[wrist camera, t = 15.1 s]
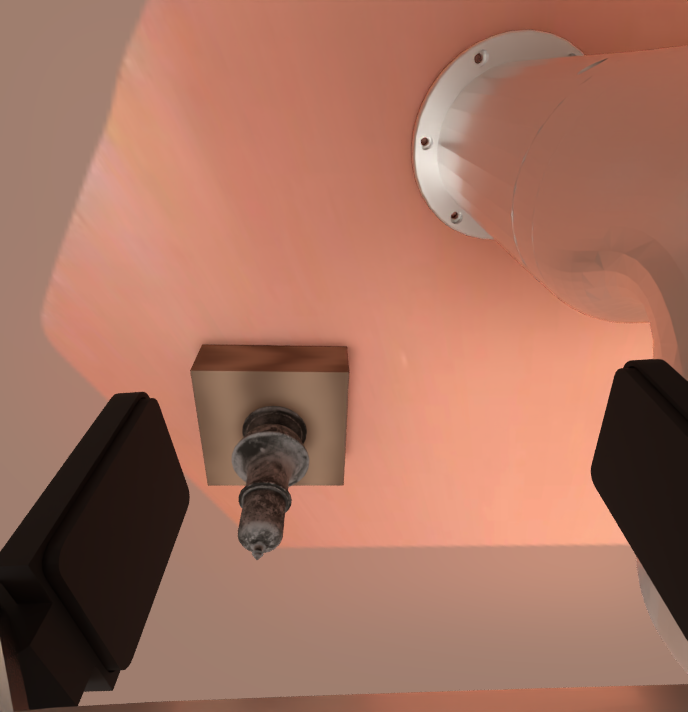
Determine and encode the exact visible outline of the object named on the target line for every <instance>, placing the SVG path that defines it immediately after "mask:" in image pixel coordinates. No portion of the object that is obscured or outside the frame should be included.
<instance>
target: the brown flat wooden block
mask: <svg viewBox="0 0 688 712" xmlns="http://www.w3.org/2000/svg"><path fill="white" fill-rule="evenodd" d="M190 371H191V378H192V385H193V391H194V398H195V404H196V411H197V417H198V424H199V430H200V437H201V443H202V450H203V456H204V463H205V470H206V476H207V483H208V485H246V482H245V481H244V480H242V479H241V478H240V477H239V476H238V475H237V473H236V472H235V471H234V468H233V465H232V453H233V450H234V448H235V446H236V445H237V444H238V443H239V441H240V440H242V439H243V434H242V429H243V424H244V421H245V419H246V418H247V417H248V416H249V414H251V413H252V412H254V411H255V410H257V409H259V408H262V407H267V406H281V407H284V408H288V409H290V410H292V411H294V412H295V413H297V414H298V415H299V416H300V417H301V418H302V419H303V421H304V423H305V424H306V429H307V436H306V440H305V442H304V444H303V445H304V447H305V449H306V450H307V452H308V456H309V468H308V470H307V472H306V474H305V476H304V477H303V478H302V479H301V480H300V481H299V482H297V483H295V484H294V485H344V466H345V446H346V425H347V404H348V384H349V366H348V353H347V347H322V346H251V345H202V346H201V349H200V351H199V353H198V355H197V357H196V359H195V362H194V364H193V366H192V368H191V370H190Z"/></svg>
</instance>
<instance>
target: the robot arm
mask: <svg viewBox="0 0 688 712" xmlns="http://www.w3.org/2000/svg"><path fill="white" fill-rule="evenodd" d="M476 54H480V56H481V60H480V62H479V63H476V62H475V61H474V58H475V55H476ZM424 137H426V138H427V144H426V145H421V139H422V138H424ZM412 166H413V171H414V176H415V180H416V183H417V186H418V188H419V190H420V193H421V195H422V197H423V199H424V200H425V202H426V203H427V205H428V206H429V208H430V209H431V210H432V212H433V213H434V214H435V215H436V216H437V217H438V218H439V219H440V220H441V221H442V222H443V223H445V224H446V225H447V226H448V227H450V228H451V229H453V230H455V231H458V232H460V233H462V234H464V235H466V236H470V237H475V238H479V239H493V240H496V241H497V242H498V243H499V244H500V245H501V246H502V247H503V248H504V249H505V250H506V251H507V252H508V253H509V254H510V255H511V256H512V257H513V258H514V259H516V260H517V261H518V262H519V263H520V264H521V265H522V266H523V267H524V268H525V269H526V270H527V271H528V272H529V273H530V274H531V275H532V276H533V277H534V278H535V279H536V280H538V281H539V282H541V283H542V284H543V285H544V286H545V287H546V288H547V289H548V290H549V291H550V292H551V293H552V294H554V295H555V296H556V297H557V298H559V299H560V300H561V301H563V302H564V303H565V304H567V305H568V306H570V307H571V308H573V309H575V310H577V311H579V312H581V313H583V314H585V315H588V316H590V317H593V318H597V319H600V320H605V321H609V322H616V323H647V322H650V326H651V332H652V337H653V359H648V360H632V361H629V362H627V363H626V364H625V365H624V367H623V368H621V369H618V370H617V371H616V373H615V376H614V380H613V384H612V387H611V391H610V395H609V399H608V403H607V407H606V411H605V415H604V419H603V422H602V426H601V430H600V434H599V438H598V442H597V446H596V450H595V454H594V458H593V461H592V465H591V477H592V481H593V484H594V486H595V487H596V489H597V491H598V492H599V494H600V496H601V497H602V499H603V501H604V502H605V504H606V506H607V507H608V509H609V511H610V513H611V514H612V516H613V518H614V519H615V521H616V523H617V524H618V526H619V528H620V529H621V531H622V533H623V534H624V536H625V538H626V539H627V541H628V543H629V544H630V546H631V548H632V549H633V551H634V553H635V554H636V557H637V570H638V577H639V583H640V588H641V592H642V595H643V598H644V602H645V605H646V608H647V610H648V613H649V615H650V617H651V620H652V622H653V624H654V626H655V628H656V630H657V632H658V633H659V635H660V637H661V639H662V640H663V642H664V643H665V645H666V646H667V648H668V649H669V651H670V652H671V654H672V655H673V657H674V658H675V659H676V661H677V662H678V663H679V664H680V666H681V667H682V668H683V669H684V671H685V672H686V673H687V674H688V46H676V47H667V48H658V49H653V50H642V51H631V52H619V53H607V54H595V55H584V53H583V52H582V51H581V50H579V49H578V48H577V47H576V46H574V45H573V44H572V43H571V42H569V41H568V40H566V39H564V38H561V37H559V36H557V35H555V34H552V33H549V32H543V31H537V30H532V29H531V30H517V31H509V32H504V33H500V34H496V35H494V36H492V37H489V38H487V39H484V40H482V41H479V42H477V43H476V44H474V45H473V46H471V47H470V48H468V49H467V50H465V51H463V52H462V53H460V54H459V55H458V56H457V57H456V58H455V59H454V60H453V61H452V62H451V63H450V64H449V65H448V66H446V67H445V68H444V69H443V71H442V72H441V73H440V75H439V76H438V77H437V79H436V80H435V81H434V83H433V84H432V85H431V87H430V89H429V91H428V93H427V95H426V97H425V99H424V100H423V102H422V104H421V107H420V110H419V113H418V116H417V119H416V122H415V125H414V132H413V139H412ZM454 212H457V216H456V217H455V218H451V215H452V214H453V213H454ZM188 505H189V489H188V486H187V483H186V480H185V477H184V474H183V472H182V469H181V466H180V463H179V460H178V457H177V455H176V452H175V449H174V446H173V443H172V440H171V437H170V435H169V432H168V429H167V426H166V423H165V420H164V418H163V415H162V412H161V409H160V406H159V404H158V402H157V400H156V399H154V398H150V397H149V396H148V394H147V393H145V392H133V393H118V394H115V395H114V396H113V397H112V398H111V399H110V400H109V402H108V403H107V405H106V406H105V407H104V409H103V411H102V412H101V413H100V414H99V416H98V417H97V418H96V420H95V421H94V423H93V424H92V425H91V427H90V428H89V430H88V431H87V432H86V434H85V435H84V436H83V438H82V439H81V441H80V442H79V443H78V445H77V446H76V448H75V449H74V450H73V452H72V453H71V454H70V456H69V457H68V459H67V460H66V461H65V463H64V464H63V466H62V467H61V468H60V470H59V471H58V473H57V474H56V476H55V477H54V478H53V479H52V481H51V482H50V484H49V485H48V486H47V488H46V489H45V491H44V492H43V493H42V495H41V496H40V498H39V499H38V500H37V502H36V503H35V505H34V506H33V507H32V509H31V510H30V511H29V513H28V514H27V515H26V517H25V518H24V520H23V521H22V523H21V524H20V525H19V527H18V528H17V529H16V531H15V532H14V534H13V535H12V536H11V538H10V539H9V540H8V542H7V543H6V545H5V546H4V547H3V549H2V550H1V551H0V712H688V684H680V685H646V686H645V685H643V686H611V687H609V686H608V687H571V688H537V689H504V690H476V691H475V690H473V691H442V692H411V693H381V694H352V695H323V696H298V697H297V696H296V697H271V698H244V699H219V700H192V701H169V702H168V701H167V702H145V703H128V704H110V705H93V706H78V704H79V702H80V699H81V697H82V694H83V692H84V691H85V692H86V691H112V690H113V689H114V686H115V683H116V681H117V678H118V675H119V673H120V670H125V669H126V668H127V667H128V666H129V665H130V663H131V661H132V659H133V656H134V653H135V651H136V648H137V645H138V642H139V640H140V637H141V634H142V632H143V629H144V626H145V623H146V620H147V618H148V615H149V612H150V610H151V607H152V604H153V601H154V598H155V596H156V593H157V590H158V588H159V585H160V582H161V579H162V577H163V574H164V571H165V568H166V566H167V563H168V560H169V558H170V554H171V552H172V549H173V547H174V544H175V541H176V538H177V536H178V533H179V530H180V527H181V525H182V522H183V519H184V516H185V514H186V511H187V508H188Z"/></svg>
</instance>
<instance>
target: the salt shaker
mask: <svg viewBox="0 0 688 712" xmlns="http://www.w3.org/2000/svg"><path fill="white" fill-rule="evenodd" d="M242 434H243V439H242V440H240V441H239V443H238V444H237V445H236V446H235V448H234V450H233V453H232V465H233V468H234V471H235V472H236V473H237V475H238V476H239V477H240V478H241V479H242V480H244V481H245V482H246V486H245V487H244V488H243V489H242V490H241V492H240V494H239V504H240V506H241V508H242V513H241V518H240V523H239V528H238V539H239V541H240V543H241V544H242V546H243V547H244V548H246V549H247V550H249V551H251V552H252V555H253V556H254V558H255V559H256V560H258V559H259V558H261V557H262V556H263V553H266V552H270V551H272V550H274V549H275V548H276V547H277V546H278V545H279V544H280V542H281V540H282V538H283V528H284V517H285V513H286V512H287V511H288V510H289V508H290V506H291V501H292V499H291V495H290V493H289V492H288V487H289V486H292V485H294V484H295V483H297V482H299V481H300V480H301V479H302V478H303V477H304V476H305V474H306V472H307V470H308V468H309V456H308V452H307V450H306V449H305V447H304V445H303V444H304V442H305V440H306V436H307V429H306V424H305V423H304V421H303V419H302V418H301V417H300V416H299V415H298V414H297V413H295V412H294V411H292V410H290V409H288V408H284V407H281V406H267V407H262V408H259V409H257V410H255V411H254V412H252V413H251V414H249V416H248V417H247V418H246V419H245V421H244V424H243V429H242Z"/></svg>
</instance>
